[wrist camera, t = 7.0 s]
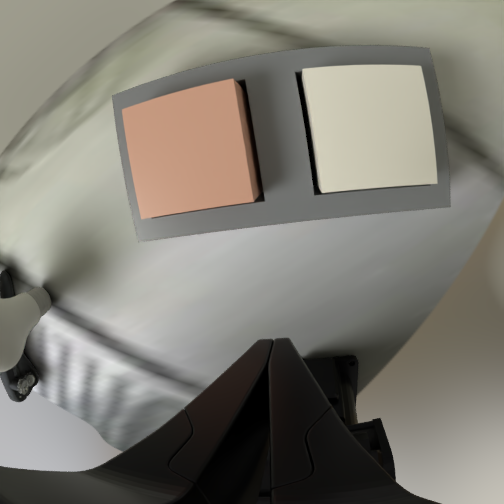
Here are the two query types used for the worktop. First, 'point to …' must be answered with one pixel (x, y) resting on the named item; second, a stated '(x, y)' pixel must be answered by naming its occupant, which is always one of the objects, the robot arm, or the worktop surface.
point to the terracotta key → (193, 150)
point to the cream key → (369, 126)
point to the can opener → (23, 373)
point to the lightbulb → (19, 323)
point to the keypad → (287, 143)
